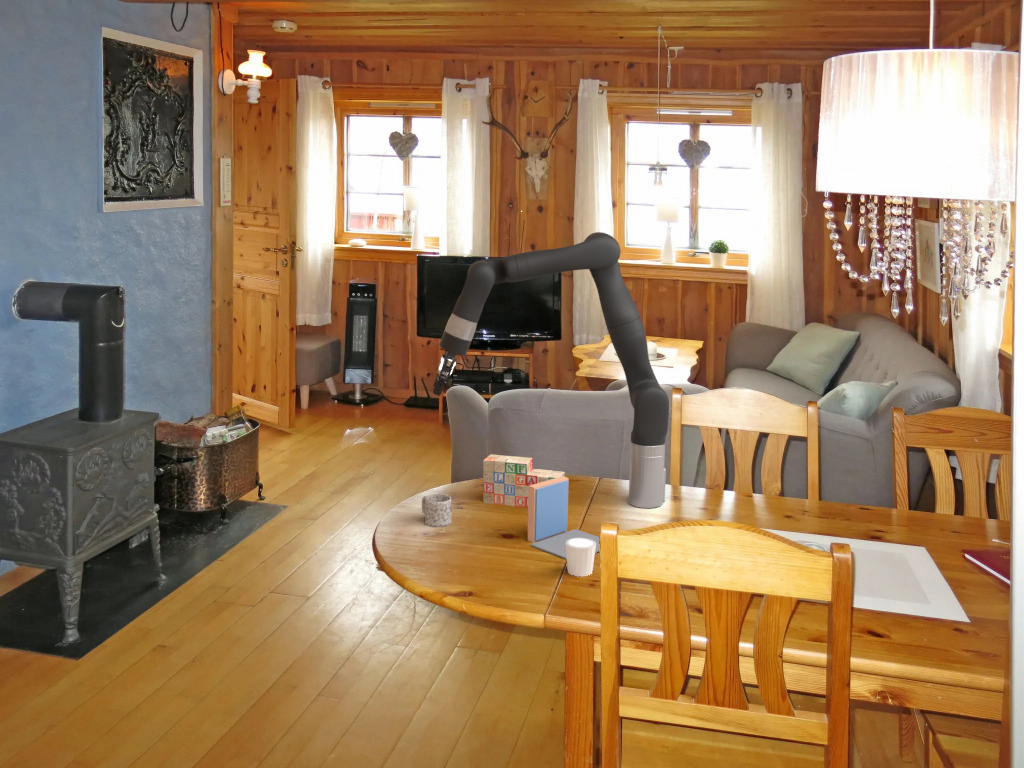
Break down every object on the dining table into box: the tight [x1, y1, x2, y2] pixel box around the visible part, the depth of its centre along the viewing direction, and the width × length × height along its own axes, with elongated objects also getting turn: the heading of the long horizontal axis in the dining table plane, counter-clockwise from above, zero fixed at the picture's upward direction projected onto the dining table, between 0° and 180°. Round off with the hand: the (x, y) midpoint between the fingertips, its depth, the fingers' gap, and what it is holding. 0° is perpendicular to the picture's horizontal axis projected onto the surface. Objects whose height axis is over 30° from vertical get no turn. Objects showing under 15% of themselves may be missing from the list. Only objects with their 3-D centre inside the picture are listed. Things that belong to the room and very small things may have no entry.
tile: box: [527, 476, 570, 544], centre depth 254 cm, size 12×2×14 cm, turn 133°
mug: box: [421, 493, 452, 528], centre depth 265 cm, size 10×7×7 cm
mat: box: [530, 528, 601, 561], centre depth 249 cm, size 16×14×1 cm
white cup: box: [566, 538, 596, 578], centre depth 233 cm, size 7×7×7 cm
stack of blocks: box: [482, 453, 566, 508], centre depth 279 cm, size 21×6×12 cm, turn 73°
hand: (436, 391), depth 271 cm, fingers open, 8 cm apart
